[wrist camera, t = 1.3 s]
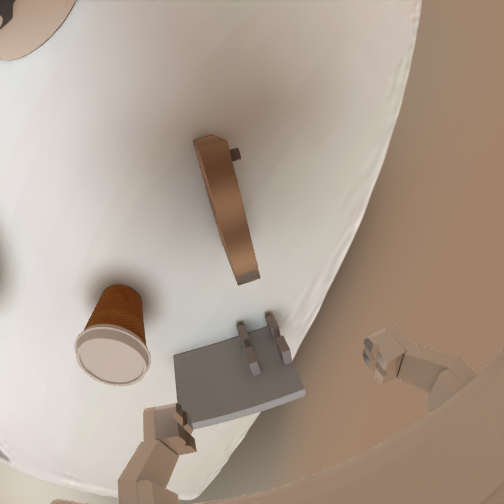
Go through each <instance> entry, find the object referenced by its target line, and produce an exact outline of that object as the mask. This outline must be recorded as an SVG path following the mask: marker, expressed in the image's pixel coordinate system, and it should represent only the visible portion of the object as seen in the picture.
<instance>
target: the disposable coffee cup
mask: <svg viewBox="0 0 504 504" xmlns="http://www.w3.org/2000/svg"><path fill="white" fill-rule="evenodd" d="M75 352H76V355H77V361H78V363H79V365H80V367H81V368H82V370H83V371H84V372H85V373H86V374H87V375H89V376H90V377H92V378H93V379H95V380H97V381H99V382H102V383H104V384H108V385H113V386H128V385H132V384H135V383H137V382H139V381H140V380H141V379H142V378H143V377H144V376H145V374H146V372H147V370H148V369H149V367H150V364H151V357H150V353H149V351H148V348H147V347H146V340H145V331H144V322H143V311H142V301H141V298H140V296H139V295H138V293H136V292H135V291H134V290H133V289H131V288H129V287H127V286H123V285H114V286H110V287H109V288H107V289H106V290H105V291H104V292H103V294H102V296H101V298H100V300H99V302H98V304H97V305H96V307H95V309H94V311H93V313H92V315H91V317H90V319H89V321H88V323H87V325H86V327H85V329H84V331H82V332H81V333H80V334H79V335H78V337H77V339H76V342H75Z"/></svg>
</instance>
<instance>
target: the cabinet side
mask: <svg viewBox="0 0 504 504" xmlns="http://www.w3.org/2000/svg"><path fill="white" fill-rule="evenodd" d="M266 321H267V325H268V327H265V328H262V329H259V330H256V331H253V332H250V333H247V332H246V329H245V326H244V324H243V325H240V326H236V327H237V330H238V333H239V336H238V337H235V338H232V339H228V340H225V341H222V342H219V343H216V344H212V345H209V346H206V347H202V348H199V349H195V350H192V351H188V352H185V353H181V354H177V355H174V369H175V381H176V392H177V401H178V403H179V404H180V405H181V406H182V410H183V411H186V412H187V413H188V415H189V417H190V419H191V422H192V426H193V429H197V428H202V427H206V426H210V425H215V424H219V423H222V422H226V421H230V420H234V419H237V418H241V417H244V416H247V415H251V414H254V413H257V412H260V411H263V410H266V409H269V408H272V407H275V406H278V405H281V404H284V403H286V402H289V401H292V400H294V399H297V398H300V397H302V396H305V395H306V393H305V388H304V386H303V384H302V382H301V380H300V378H299V375H298V374H297V371H296V369H295V367H294V365H293V363H292V358H291V353H290V349H289V347H288V345H287V343H286V341H285V339H284V337H283V336H280V331H279V327H278V325H277V323H276V320H275V318H274V316H273V314H272V315H269V316H266Z"/></svg>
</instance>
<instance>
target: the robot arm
mask: <svg viewBox="0 0 504 504" xmlns="http://www.w3.org/2000/svg"><path fill="white" fill-rule="evenodd" d="M75 1H76V0H0V59H1V60H6V61H9V60H15V59H18V58H21V57H23V56H25V55H27V54H29V53H31V52H32V51H34V50H35V49H37V48H38V47H39V46H40V45H42V44H43V43H44V42H45V41H46V40H47V39H48V38H49V37H50V36H51V35H52V34H53V33H54V32H55V31H56V30H57V29H58V28H59V26H60V25H61V24H62V23H63V21H64V20H65V18H66V17H67V15H68V14H69V12H70V10H71V8H72V6H73V5H74V3H75ZM364 344H365V346H366V347H365V349H364V350H363V357H364V361H365V363H366V365H367V366H368V368H369V369H372V370H374V376H375V377H376V379H377V380H378V382H379V383H380V384H381V386H382V385H384V384H386V383H388V382H390V381H391V380H393V379H395V378H397V379H399V380H401V381H403V382H406V383H408V384H410V385H412V386H414V387H416V388H419V389H421V390H423V391H425V392H427V393H429V395H428V397H427V399H426V400H425V403H424V404H425V406H426V408H427V409H428V410H429V412H430V413H429V414H427V415H426V416H424V417H423V418H422V419H420V420H419V421H417V422H416V423H414V424H412V425H411V426H409V427H408V428H406V429H405V430H403V431H402V432H400V433H398V434H396V435H395V436H393V437H392V438H390V439H388V440H386V441H384V442H383V443H381V444H379V445H377V446H375V447H373V448H372V449H370V450H368V451H366V452H364V453H362V454H360V455H358V456H356V457H353V458H351V459H349V460H347V461H345V462H343V463H340V464H338V465H336V466H334V467H331V468H329V469H326V470H324V471H321V472H319V473H316V474H314V475H311V476H309V477H305V478H303V479H300V480H297V481H294V482H291V483H288V484H284V485H281V486H278V487H275V488H271V489H267V490H263V491H260V492H256V493H252V494H247V495H243V496H238V497H233V498H228V499H223V500H216V501H211V502H203V503H195V504H504V349H503V350H502V351H501V352H500V353H499V354H498V355H497V356H496V357H495V358H494V359H493V360H492V361H491V362H490V363H489V364H488V365H487V366H486V367H485V368H484V369H483V370H482V371H481V372H479V373H478V374H476V373H475V372H474V371H473V370H472V369H471V368H470V367H469V366H468V365H467V364H466V362H465V361H464V360H462V358H461V357H458V356H455V355H451V354H448V353H444V352H441V351H438V350H434V349H431V348H428V347H424V346H421V345H417V346H416V345H415V344H414V343H413V342H412V341H411V340H410V339H409V338H408V337H407V336H406V335H405V333H404V332H403V331H402V330H401V329H400V328H399V327H398V326H397V325H395V324H392V325H390V326H388V327H387V328H385V329H382V330H380V331H378V332H376V333H374V334H372V335H370V336H369V337H367V338H365V340H364ZM143 429H144V442H141V443H140V445H139V446H138V448H137V449H136V451H135V453H134V454H133V456H132V458H131V459H130V461H129V463H128V464H127V466H126V468H125V469H124V471H123V473H122V474H121V476H120V477H119V479H118V495H119V504H179V499H178V495H177V494H176V493H174V492H172V491H170V490H168V489H166V486H167V484H168V481H169V479H170V477H171V474H172V472H173V469H174V467H175V465H176V462H177V460H178V457H179V456H178V455H182V454H188V453H193V452H197V451H196V445H195V439H194V438H193V437H192V436H191V433H192V431H193V426H192V422H191V419H190V417H189V415H188V413H187V412H186V411H183V410H182V406H181V405H180V404H179V403H174V404H169V405H164V406H158V407H152V408H146V409H144V412H143ZM51 504H88V503H80V502H73V501H68V500H61V499H56V500H54V501H53V502H52V503H51Z"/></svg>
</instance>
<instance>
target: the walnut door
mask: <svg viewBox="0 0 504 504" xmlns="http://www.w3.org/2000/svg"><path fill="white" fill-rule="evenodd" d="M193 142H194V146H195V149H196V153H197V157H198V160H199V164H200V168H201V171H202V175H203V178H204V182H205V185H206V189H207V192H208V196H209V199H210V203H211V206H212V210H213V213H214V217H215V220H216V224H217V227H218V230H219V234H220V237H221V240H222V244H223V246H224V249H225V252H226V255H227V257H228V260H229V263H230V265H231V268H232V271H233V273H234V276H235V279H236V281H237V284H238V285H242V284H245V283H248V282H251V281H254V280H257V279H260V274H259V270H258V266H257V262H256V257H255V253H254V249H253V245H252V241H251V237H250V233H249V229H248V224H247V220H246V216H245V212H244V208H243V204H242V200H241V196H240V191H239V187H238V183H237V179H236V175H235V171H234V167H233V163H232V161H236V160H239V159H241V156H240V152H239V149H238V148H234V149H231V150H229V146H228V142H227V141H226V140H224V139H222V138H219V137H217V136H215V135H210V136H206V137H203V138H199V139H196V140H193Z"/></svg>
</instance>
